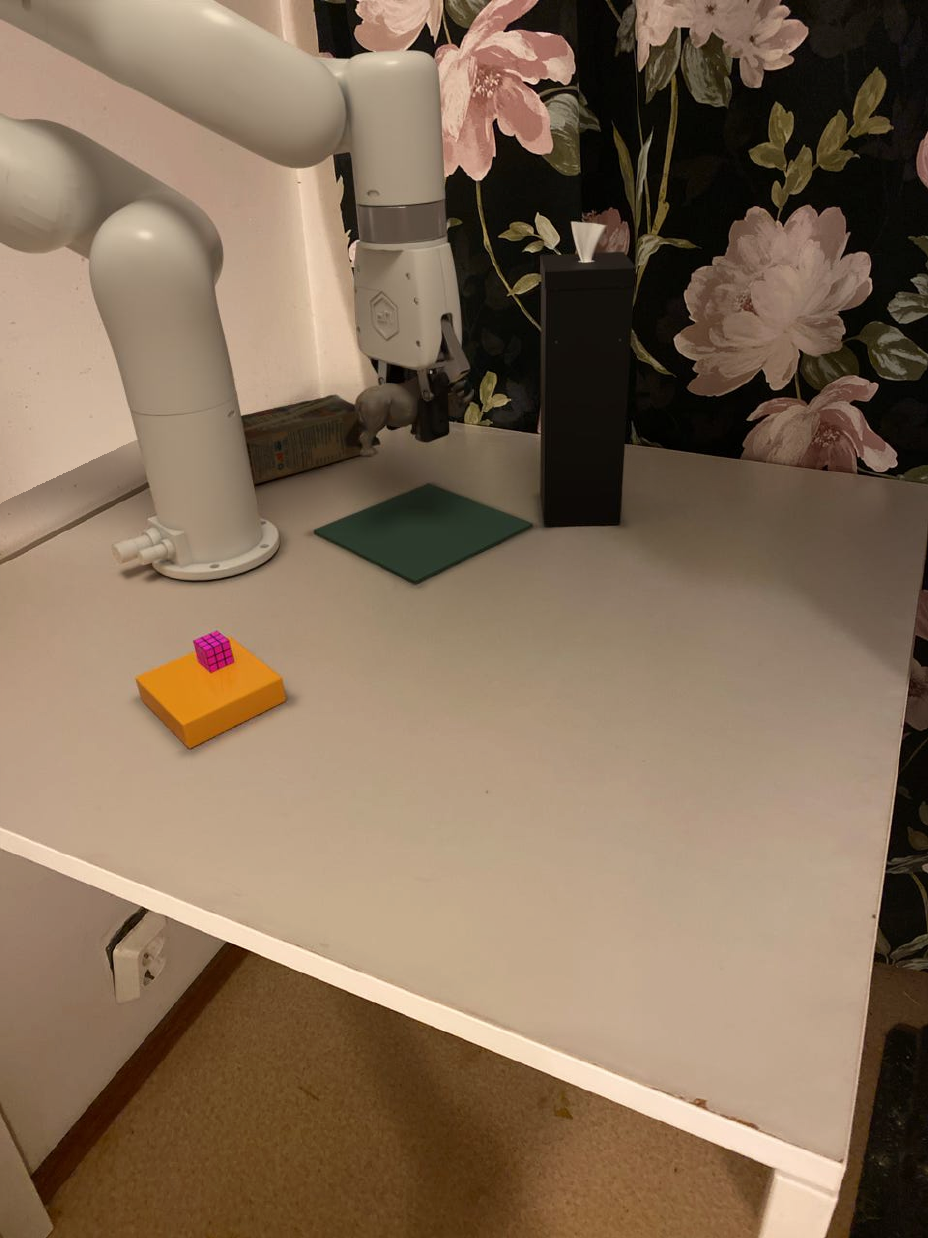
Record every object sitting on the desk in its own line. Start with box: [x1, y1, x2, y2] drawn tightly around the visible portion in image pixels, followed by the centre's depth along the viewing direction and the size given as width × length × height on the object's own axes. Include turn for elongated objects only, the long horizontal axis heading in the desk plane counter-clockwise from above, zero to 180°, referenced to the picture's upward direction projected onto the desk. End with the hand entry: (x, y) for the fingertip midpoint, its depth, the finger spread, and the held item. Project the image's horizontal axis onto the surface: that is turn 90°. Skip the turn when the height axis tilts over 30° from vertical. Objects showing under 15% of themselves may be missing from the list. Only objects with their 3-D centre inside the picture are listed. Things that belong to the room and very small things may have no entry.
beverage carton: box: [241, 394, 362, 485], centre depth 104 cm, size 8×19×7 cm, turn 126°
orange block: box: [134, 630, 287, 749], centre depth 64 cm, size 8×8×4 cm
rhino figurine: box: [354, 373, 475, 458], centre depth 82 cm, size 4×14×6 cm, turn 126°
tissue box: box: [539, 221, 637, 527], centre depth 84 cm, size 8×8×28 cm
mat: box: [313, 482, 534, 585], centre depth 89 cm, size 16×16×1 cm
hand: (417, 430), depth 83 cm, fingers closed on rhino figurine, 4 cm apart
